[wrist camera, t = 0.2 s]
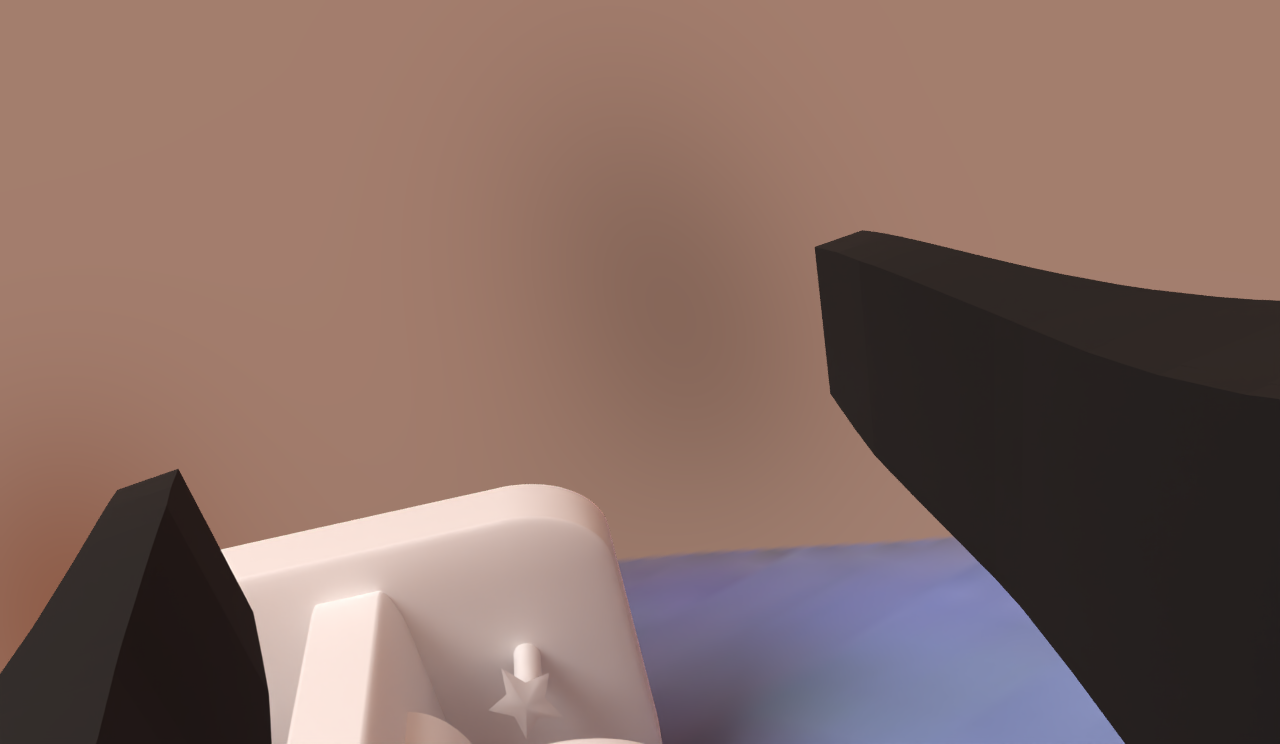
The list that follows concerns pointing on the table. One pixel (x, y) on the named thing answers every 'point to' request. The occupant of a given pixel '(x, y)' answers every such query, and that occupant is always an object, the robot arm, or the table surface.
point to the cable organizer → (451, 626)
